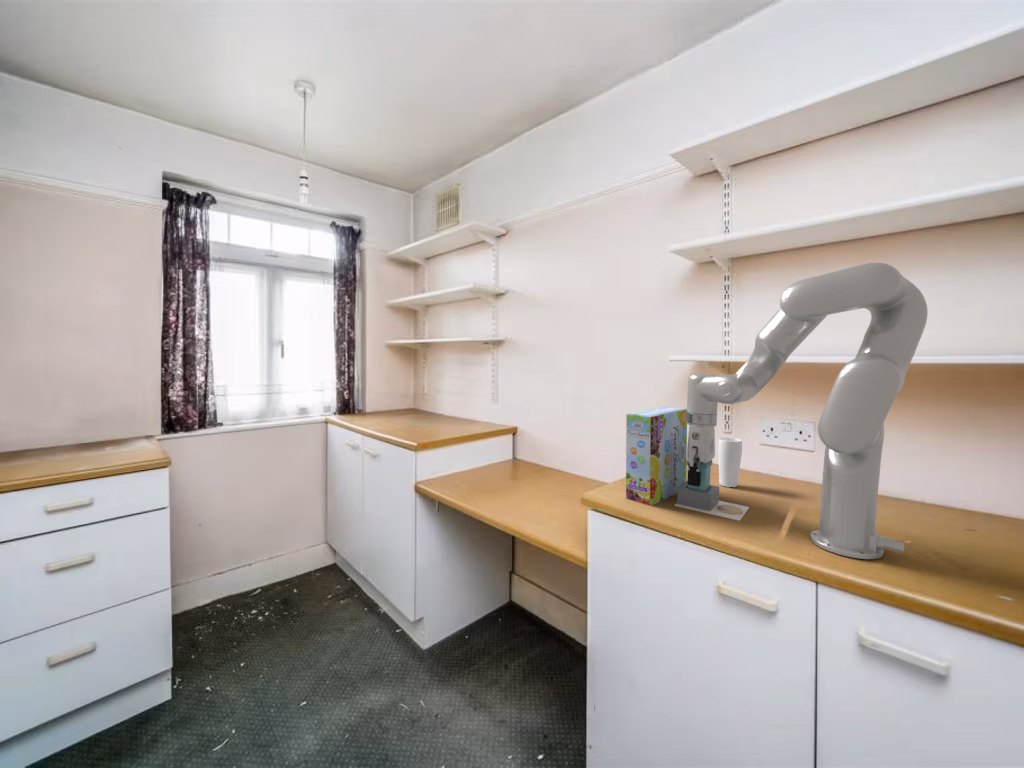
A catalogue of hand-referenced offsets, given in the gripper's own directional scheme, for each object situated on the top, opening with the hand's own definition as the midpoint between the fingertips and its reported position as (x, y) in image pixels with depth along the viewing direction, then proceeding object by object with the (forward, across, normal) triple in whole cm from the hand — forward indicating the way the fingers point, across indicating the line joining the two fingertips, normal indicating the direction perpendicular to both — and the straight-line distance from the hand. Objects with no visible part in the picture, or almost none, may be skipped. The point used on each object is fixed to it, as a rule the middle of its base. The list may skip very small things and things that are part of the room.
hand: (698, 481), depth 115 cm
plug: (+6, 0, 0) cm, 6 cm away
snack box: (+7, +1, +12) cm, 14 cm away
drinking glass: (+7, +26, -2) cm, 27 cm away
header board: (+7, 0, -4) cm, 8 cm away
